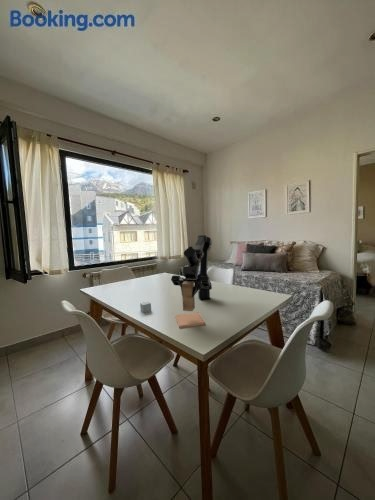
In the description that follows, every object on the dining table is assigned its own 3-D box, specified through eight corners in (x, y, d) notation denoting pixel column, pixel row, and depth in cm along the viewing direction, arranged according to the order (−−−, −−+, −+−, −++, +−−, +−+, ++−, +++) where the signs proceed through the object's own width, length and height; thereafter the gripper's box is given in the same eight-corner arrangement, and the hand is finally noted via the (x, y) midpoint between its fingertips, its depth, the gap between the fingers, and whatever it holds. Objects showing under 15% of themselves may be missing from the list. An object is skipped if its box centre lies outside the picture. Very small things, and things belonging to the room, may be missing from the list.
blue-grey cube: (148, 308, 116) (147, 301, 115) (151, 311, 112) (150, 303, 111) (140, 310, 113) (140, 302, 113) (143, 313, 109) (142, 305, 109)
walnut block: (185, 307, 100) (184, 281, 99) (194, 307, 99) (193, 281, 98) (183, 310, 96) (181, 283, 95) (192, 311, 95) (191, 283, 93)
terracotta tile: (198, 314, 105) (198, 312, 105) (205, 324, 93) (205, 322, 93) (175, 317, 103) (175, 315, 102) (179, 327, 91) (179, 325, 91)
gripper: (171, 259, 102) (163, 287, 92) (208, 259, 96) (204, 289, 87) (177, 271, 110) (171, 298, 101) (211, 272, 104) (208, 300, 95)
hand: (187, 296), depth 95 cm, fingers closed on walnut block, 4 cm apart
